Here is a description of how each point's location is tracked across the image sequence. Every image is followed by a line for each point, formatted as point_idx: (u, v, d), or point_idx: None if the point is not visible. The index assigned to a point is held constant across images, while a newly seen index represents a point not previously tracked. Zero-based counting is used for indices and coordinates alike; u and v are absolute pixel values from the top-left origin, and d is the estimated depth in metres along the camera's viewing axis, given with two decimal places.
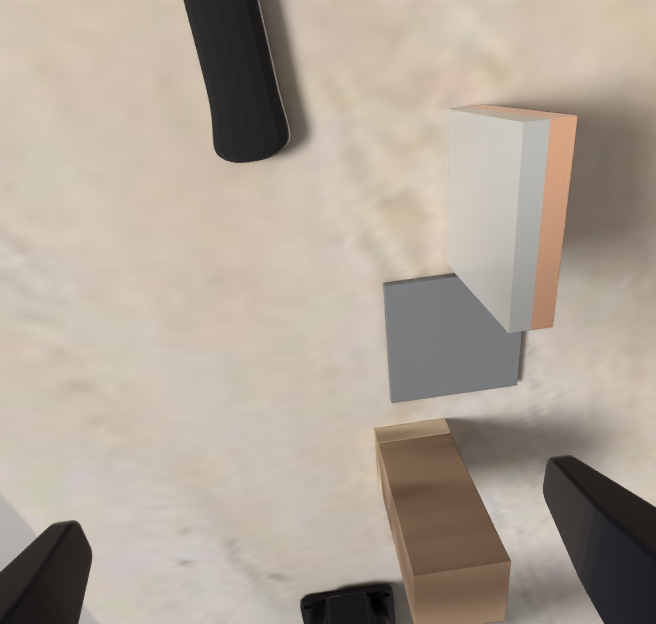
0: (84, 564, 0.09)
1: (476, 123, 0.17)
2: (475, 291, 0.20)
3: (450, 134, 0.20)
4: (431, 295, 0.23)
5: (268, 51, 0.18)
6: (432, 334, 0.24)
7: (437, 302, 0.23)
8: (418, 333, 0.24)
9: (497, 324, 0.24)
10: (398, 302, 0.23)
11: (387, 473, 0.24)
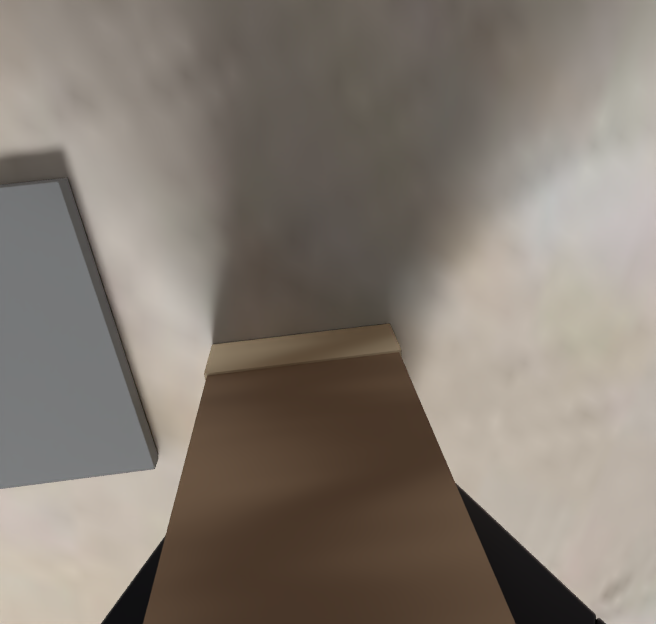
0: None
1: None
2: None
3: None
4: None
5: None
6: None
7: None
8: None
9: None
10: None
11: None
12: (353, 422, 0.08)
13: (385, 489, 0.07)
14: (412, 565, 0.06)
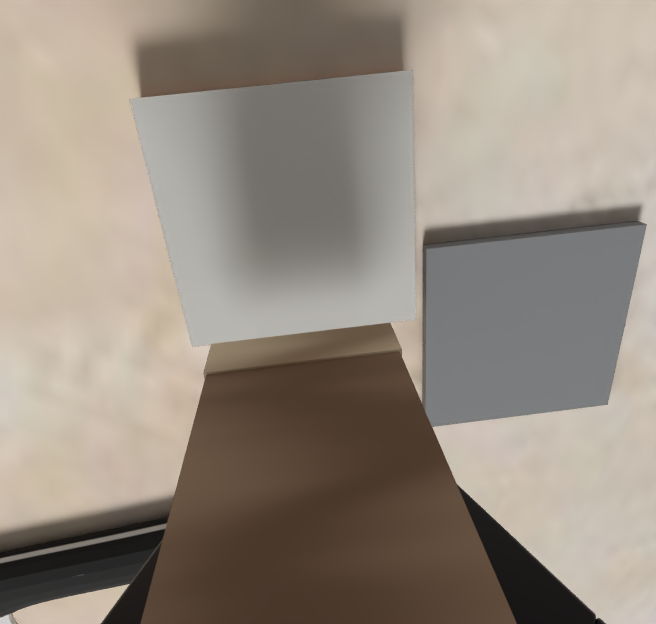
0: None
1: (177, 242, 0.13)
2: (408, 200, 0.13)
3: (221, 332, 0.14)
4: (448, 374, 0.17)
5: None
6: (511, 365, 0.17)
7: (460, 365, 0.17)
8: (503, 383, 0.17)
9: (517, 278, 0.15)
10: (450, 410, 0.17)
11: None
12: (354, 421, 0.08)
13: (384, 490, 0.07)
14: (412, 565, 0.06)
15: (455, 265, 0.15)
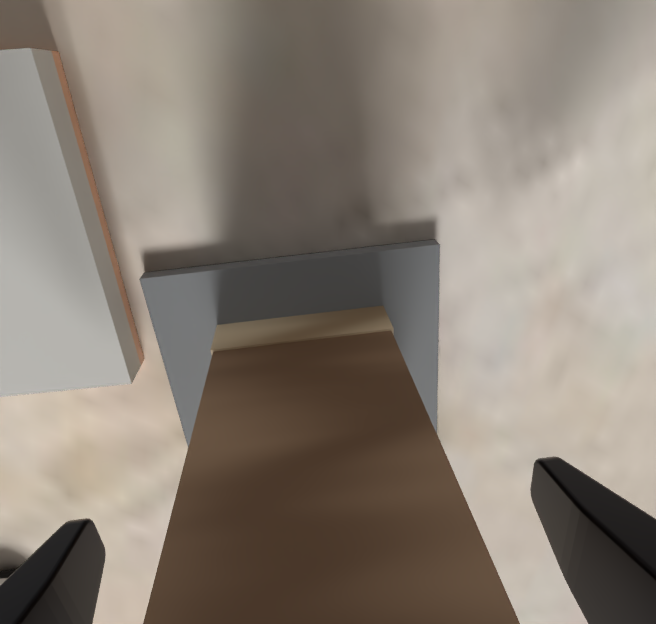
0: (98, 562, 0.09)
1: None
2: (76, 231, 0.10)
3: None
4: None
5: None
6: None
7: None
8: None
9: (276, 315, 0.12)
10: None
11: None
12: (349, 389, 0.09)
13: (375, 445, 0.07)
14: (398, 503, 0.06)
15: (186, 299, 0.11)
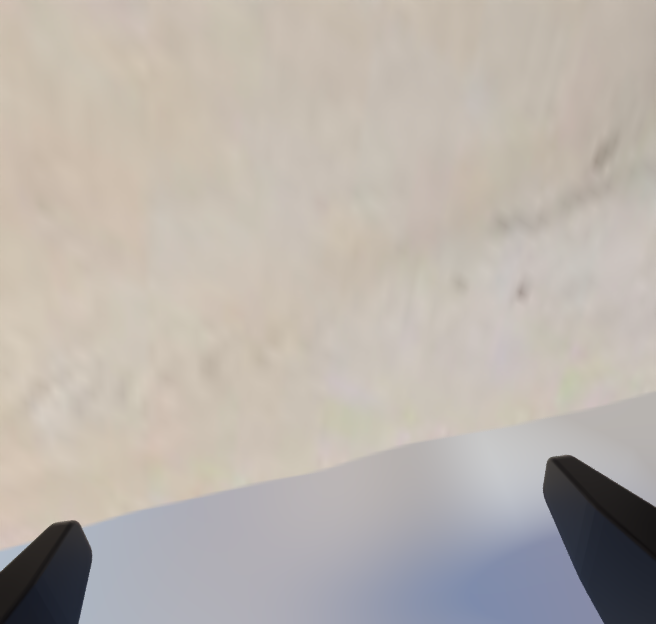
0: (84, 564, 0.09)
1: None
2: None
3: None
4: None
5: None
6: None
7: None
8: None
9: None
10: None
11: None
12: None
13: None
14: None
15: None
